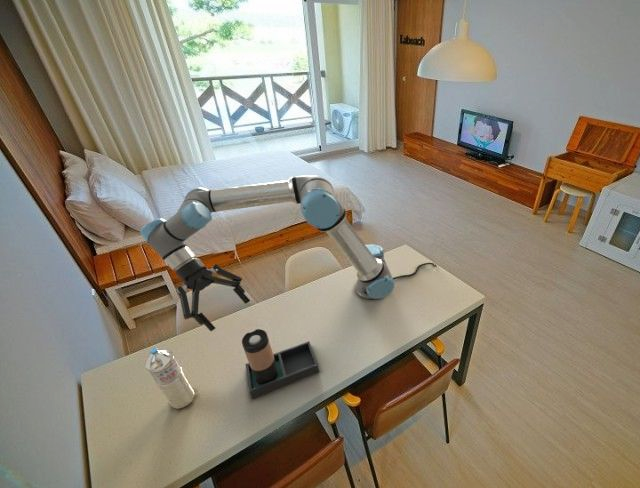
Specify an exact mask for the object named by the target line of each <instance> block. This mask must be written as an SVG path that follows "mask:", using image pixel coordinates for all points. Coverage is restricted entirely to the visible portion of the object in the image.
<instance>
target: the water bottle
mask: <svg viewBox="0 0 640 488" xmlns="http://www.w3.org/2000/svg"><path fill="white" fill-rule="evenodd" d="M144 366H145V369H146V371H147V372H149V374H150V376H151V377H152V378H153V380H154V382H155V384H156V386H157V387H158V388H159V390H160V391H161V393H162V394H163V396H164V397H165V399H166V400H167V402H168V404H169V405H170V406H171V407H172V408H174V409H177V410H180V409H184V408H186V407H187V406H189V405H190V404H191V403H192V402H193V401H194V399H195V397H196V396H195V395H196V394H195V390H194V388H193V386H192V384H191V383H190V381H189V379H188V378H187V376H186V374H185V373H184V370H183V368H182V367H181V366H180V365H179V363H178V361H177V359H176V358H175V354H174V353H173V351H171V350H169V349H158V348H157V347H152V348H151V349H150V350H149V355H148V356H147V358H146V360H145V363H144Z"/></svg>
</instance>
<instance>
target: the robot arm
mask: <svg viewBox="0 0 640 488" xmlns="http://www.w3.org/2000/svg"><path fill="white" fill-rule="evenodd" d="M284 203H285V204H286V203H294V204H296V205H298V204H300V209H301V210H300V211H301V213H302V216H303V218H304V220H305V222H306V223H308V224H309V225H310V226H311V227H313V228H316V229H317V230H318V231H319V232H321V233H326V234H327V236H328V237H329V238H330V239H331V241H332V242H333V243H334V244H335V246H337V248H338V249H339V251H341V253H342V254H343V255H344V256H345V258H346V259H347V260H348V261H349V263H350V264H351V265H352V266H353V268H354V269H355V270H356V277H357V279H356V282H355V284H354V285H355V286H354V287H355V292H356V294H357V295H358V296H359V297H360V298H363V299H366V300H378V299H379V300H380V299H383V298H386V297H388V296H390V295H391V294H392V292H393V291H394V289H395V285H396V284H395V280H397V279H400V278H409V277H413V276H414V275H416V274H417V272H418V270H419V268H422V267H423V266H427V265H428V266H429V265H431V266H434V267H436V266H437V264H435V263H433V262H424V263H421V264H419V265H418V266H416V268H415V271H414V272H412V273H410V274H404V275H399V276H394V277H393V276H392V273H391V271H390V269H389V267H388V265H387V262H386V261H385V251H384V247H382V246H381V245H378V244H366V243H364V241H363V239H362V238H361V236H359V234H358V233H357V231H356V230H355V229H354V227H353V226H352V224H351V223H350V222H349V221H348V219H347V210H346V209H345V208H344V206H343V205H342V203H341V202H340V200H339V199H338V197H337V196H336V193H335V189H334V187H333V185H332V183H331V182H330V181H329V180H328V179H326V177H323V176H321V175H313V174H312V175H311V174H309V175H297V176H291V177H289V179H288V180H280V181H274V182H266V183H265V182H264V183H257V184H248V185H242V186H233V187H225V188H217V189H208V188H204V187H201V186H197V187H193V188H191V190H189V192H187V193H186V195H185V196H184V200H183V201H182V202H181V204H180V206H179V208H178V210H177V211H176V213H175V214H173V216H171V217H170V218H168V219H167V220H165V219H164V218H157V219H154V220H152V221H150V222H149V223H147V224H145V225H143V226H142V227H141V229H140V231H139V233H140V235H141V236H142V237H143V239H144V240H145V242H146V243H147V244H148V246H150V247H151V248H152V249H153V251H155V252H156V253H157V254H158V255H159V257H160V258H161V259H162V260H163V261H164V262H165V263H166V264H167V266H168V267H169V268H170V269H171V270H172V271H175V274H176V276H177V277H178V278H179V279H180V280H181V281H182V283H183V285H182V286H178V287H177V288H176V289H175V292H176V293H177V295H178V296H179V301H180V305H181V311H182V315H183V319H184V320H189V319H194V320H195V321H196V322H197V323H198V325H200V326H203V325H204V326H205V327H206V329H208V331H210V332H213V331H214V330H216V327H215V325H214V324H213V323H212V322H211V321H210V320H209V319H208V318H207V317H206V315H204V314H203V312H199V303H200V293H201V291H203V290H205V289H206V288H208V287H209V286H211V285H212V284H216V285H222V286H226V287H231V288H233V289H232V290H233V292H234V293H235V294H236V295H237V296H238V297H239V298H240V300H241V301H242V302H243V303H244V305H246V304H248V303H250V302H251V300H250V298H248V296H247V295H246V294H245V293H246V290H245V289H244V288H243V287H242V285H241V282H242V281H243V278H242V277H241V276H239V275H236V274H234V273H232V272H230V271H228V270H226V269H224V268H222V267H220V265H218V264H213V266H212V267H211V268H209V269H208V267H206V265H205V264H204V262H203V261H202V260H201V259H200V258H199V257H198V258H197V255H196V253H195V252H193V251H192V249H191V248H190V247H189V245H188V244H187V243H186V242H185V241H186V240H188V239H189V238H190V237H192V236H193V235H194V234H196V233H197V232H199V231H200V230H202V229H203V228H205V227H206V226H207V225H208V224H209V223H210V222H212V220H213V216H212V213H218V212H226V211H232V210H238V209H239V210H240V209H247V208H255V207H262V206H269V205H270V206H271V205H276V204H277V205H278V204H284ZM434 264H435V265H434ZM213 273H214V274H217V275H219V276H222V277H224V278H222V277H221V278H220V277H218V276H215V275H213ZM225 278H226V279H225ZM187 289H188V290H191V309H190V304H189V300H188V296H187V295H188V294H187V291H188V290H187Z"/></svg>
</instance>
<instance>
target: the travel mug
mask: <svg viewBox="0 0 640 488" xmlns="http://www.w3.org/2000/svg"><path fill="white" fill-rule="evenodd" d="M241 345H242V348H243V351H244V354H245V357H246V359H247V363H249V365H250V367H251V370H252V372H253V374H254V377H255V379H256V381H257V383H258V384H260V385H263V384H266V383H268V382H271V381H273V380H275V379H276V378H277V375H278V371H277V367H276V363H275V359H274V355H273V354H274V352H273V348H272V345H271V343H270V339H269V336H268V332H267V331H265V330H264V329H260V328H257V329H254V330H253V331H251V332H246V333H245V334H244V335H243V337H242V339H241Z"/></svg>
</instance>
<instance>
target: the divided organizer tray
mask: <svg viewBox="0 0 640 488" xmlns="http://www.w3.org/2000/svg"><path fill="white" fill-rule="evenodd" d="M273 355H274V359H275V363H276V367H277V371H278V375H277V378H276V379H275V380H273V381H271V382H268V383H266V384H263V385H260V384H258V383H257V381H256V379H255V377H254V374H253V372H252V370H251V367H250V365H249V362H247V363H245V371H246V375H247V376H246V377H247V385H248V391H249V395H250V397H251V400H253V399H256V398H258V397H261V396H263V395H266V394H268V393H271V392H273V391H275V390H278V389H280V388H283V387H285V386H288V385H291V384H293V383H295V382H298V381H300V380H303V379H306V378H308V377H310V376H313V375H315V374H317V373H320V369H319V364H318V361H317V359H316V356H315V352H314V350H313V347H312V345H311V342H310V340H307V341H306V342H303V343H300V344H298V345H295V346H291V347H289V348H286V349H283V350H280V351H278V352H275V353H273Z"/></svg>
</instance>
